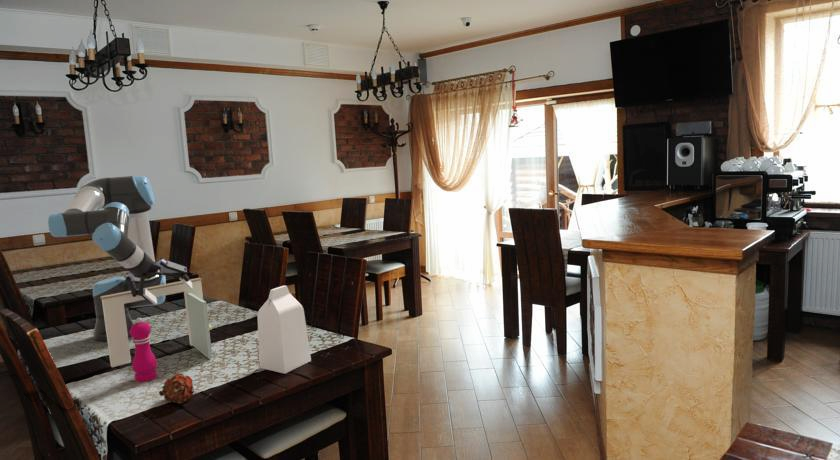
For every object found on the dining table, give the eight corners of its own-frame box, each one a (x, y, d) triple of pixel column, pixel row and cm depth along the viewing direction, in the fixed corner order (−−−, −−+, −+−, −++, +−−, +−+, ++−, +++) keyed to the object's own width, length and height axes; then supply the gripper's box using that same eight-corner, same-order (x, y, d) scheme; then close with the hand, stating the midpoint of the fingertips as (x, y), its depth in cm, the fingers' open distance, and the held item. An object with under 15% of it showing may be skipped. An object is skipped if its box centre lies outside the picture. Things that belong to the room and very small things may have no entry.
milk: (285, 373, 176) (277, 293, 172) (259, 367, 182) (252, 290, 179) (311, 360, 186) (304, 284, 183) (286, 355, 192) (279, 282, 189)
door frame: (109, 366, 191) (100, 296, 188) (206, 340, 214) (199, 277, 210) (111, 367, 189) (102, 297, 186) (208, 341, 212) (202, 278, 208)
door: (208, 358, 192) (202, 302, 189) (192, 344, 207) (186, 292, 205) (216, 356, 193) (210, 300, 190) (199, 343, 209) (193, 291, 206)
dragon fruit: (184, 414, 155) (172, 407, 164) (206, 388, 159) (193, 383, 168) (161, 395, 151) (150, 389, 160) (184, 370, 155) (172, 365, 165)
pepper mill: (163, 375, 180) (156, 315, 177) (144, 384, 174) (136, 322, 171) (148, 372, 183) (140, 313, 180) (128, 381, 177) (120, 320, 174)
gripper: (98, 283, 178) (141, 316, 194) (169, 252, 178) (206, 287, 194) (100, 266, 183) (141, 299, 199) (169, 236, 183) (205, 271, 199)
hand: (173, 293), depth 197 cm, fingers open, 13 cm apart
